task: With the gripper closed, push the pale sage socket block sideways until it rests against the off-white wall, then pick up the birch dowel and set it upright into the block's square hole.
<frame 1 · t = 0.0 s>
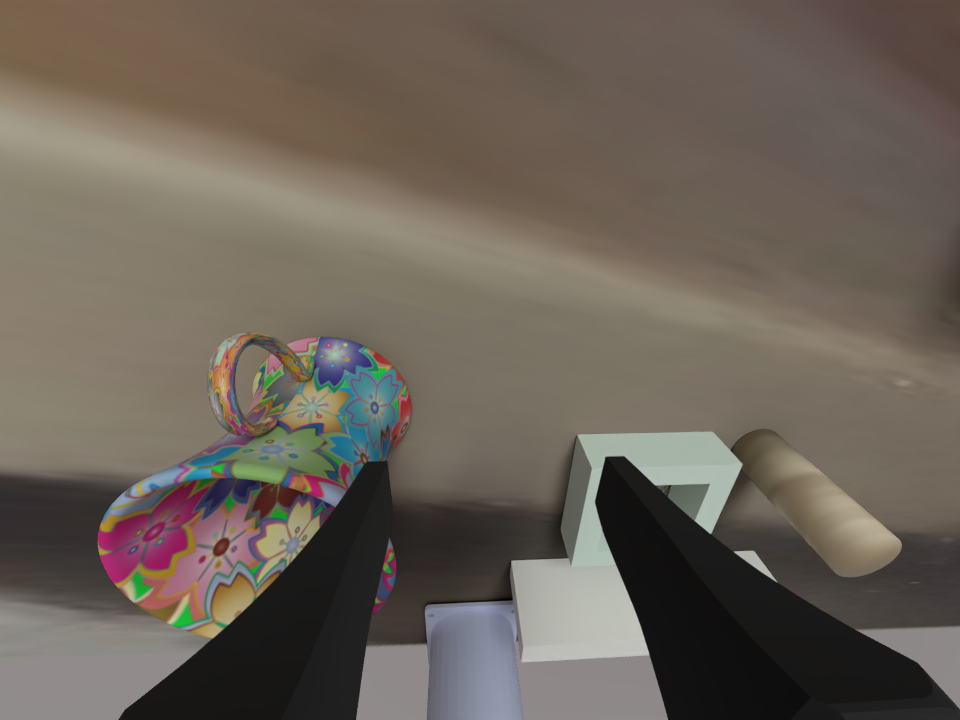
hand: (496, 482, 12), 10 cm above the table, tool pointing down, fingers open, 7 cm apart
mug: (336, 374, 22), on the table, touching gripper
wall: (632, 563, 31), on the table
socket block: (631, 483, 27), on the table
dowel: (755, 448, 26), on the table
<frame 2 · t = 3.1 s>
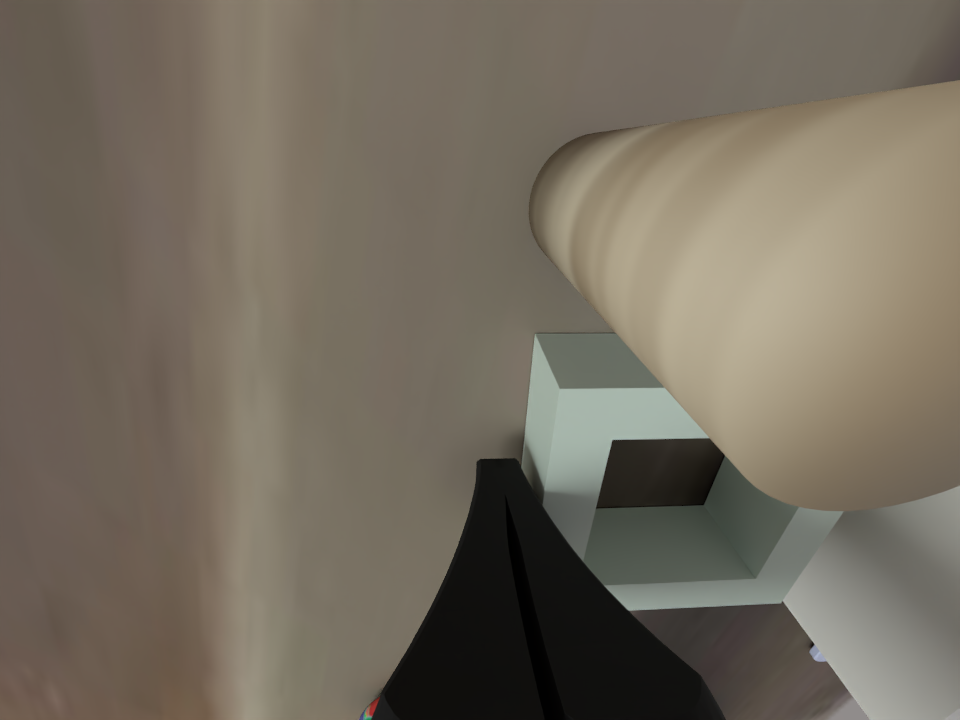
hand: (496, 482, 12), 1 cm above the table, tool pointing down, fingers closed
wall: (903, 399, 13), on the table
socket block: (648, 448, 14), on the table, touching gripper
dowel: (591, 206, 10), on the table
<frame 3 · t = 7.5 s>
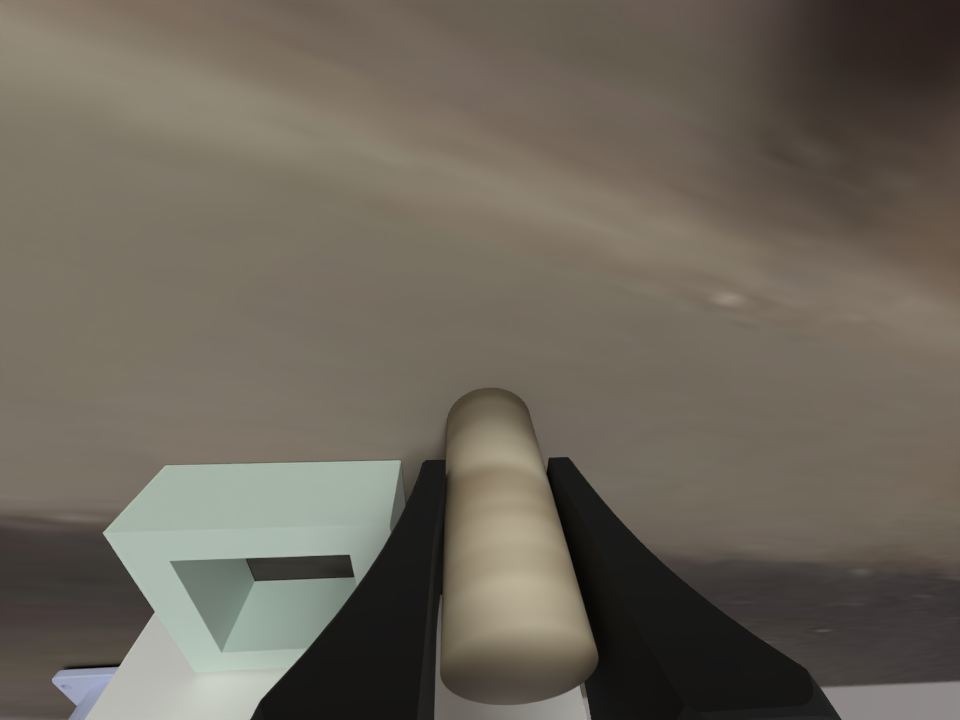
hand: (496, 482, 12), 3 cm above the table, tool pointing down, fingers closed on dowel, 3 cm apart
wall: (366, 609, 20), on the table
socket block: (307, 538, 17), on the table
dowel: (488, 423, 15), on the table, touching gripper
when the fingers open (4 cm above the table, at t = 11.1 s): dowel drops 1 cm, resting in socket block.
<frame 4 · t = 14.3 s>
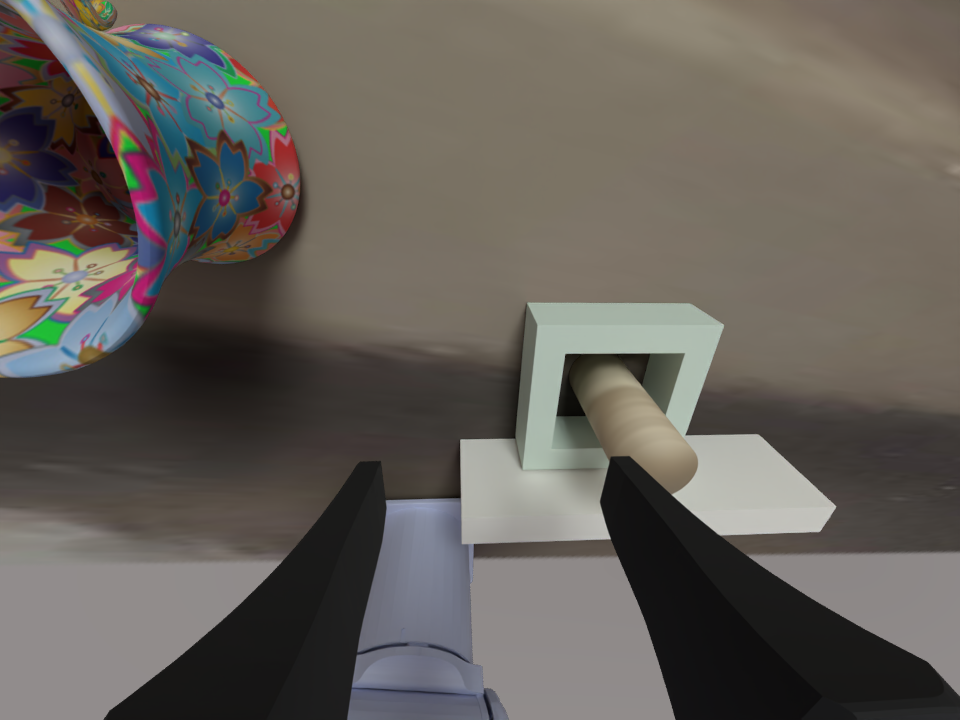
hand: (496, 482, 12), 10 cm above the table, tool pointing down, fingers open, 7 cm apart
mug: (196, 122, 16), on the table
wall: (610, 448, 26), on the table
socket block: (595, 375, 23), on the table
dowel: (595, 373, 23), resting in socket block
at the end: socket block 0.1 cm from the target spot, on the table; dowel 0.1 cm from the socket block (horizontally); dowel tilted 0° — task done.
